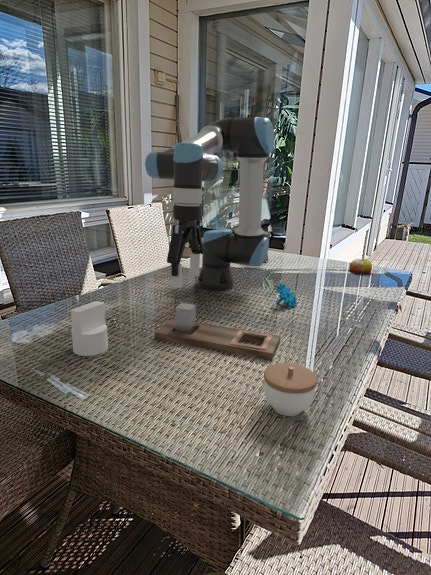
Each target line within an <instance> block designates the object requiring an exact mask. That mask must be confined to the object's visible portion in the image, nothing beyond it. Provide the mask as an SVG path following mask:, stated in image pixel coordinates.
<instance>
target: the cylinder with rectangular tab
mask: <svg viewBox="0 0 431 575" xmlns="http://www.w3.org/2000/svg"><path fill="white" fill-rule="evenodd" d="M105 306H106V304H105V302H103V301H100V300H96V301H92V302H89V303H87V304H83V305H81V306H78V307H75V308H72V309H70V313H71V314H70V316H71V340H72V352H73V353H74V354H76V355H78V356H82V357H83V356H84V357H93V356H97V355H100V354H103V353H105V352H106V351H107V350H108V349H109V343H108V342H109V339H108V325H107V324H106V307H105Z"/></svg>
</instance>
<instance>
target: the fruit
mask: <svg viewBox="0 0 431 575" xmlns="http://www.w3.org/2000/svg"><path fill="white" fill-rule="evenodd" d="M348 269H349V271H350V272H352V273H354V274H358V275H370V274H371V272H372V270H373V265H372V262H371V261H370V260H369V259H367V258H355V259H353V260H352V261H350V263H349V267H348Z"/></svg>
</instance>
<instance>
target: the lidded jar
mask: <svg viewBox="0 0 431 575" xmlns="http://www.w3.org/2000/svg"><path fill="white" fill-rule="evenodd" d="M317 383H318V378H317V376H316V374H315V372H313V371H312V370H311V369H309V368H307V367H306V366H304V365H300V364H297V363H293V362H291V363H290V362H280V363H279V362H277V363H273V364H270V365H269V366H268V367H266V368H265V369H264V372H263V390H264V395H265V399H266V401H267V402H268V404H269V405H270V406H271V408H273V411H275V412H276V413H277V414H279V415H281V416H286V417H295V416H298V415H300V414H301V413H303V412H304V411H305V410H306V409H307V408H309V406H310V405H311V403H312V401H313V399H314V397H315V392H316V387H317Z"/></svg>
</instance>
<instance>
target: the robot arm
mask: <svg viewBox="0 0 431 575" xmlns="http://www.w3.org/2000/svg"><path fill="white" fill-rule="evenodd" d="M275 140H276V138H275V129H274V126H273V123H272V122H271V120H270V119H269V118H268V117H262V116H261V117H260V116H255V117H252V116H251V117H245V116H244V117H226V118H222V119H219V120H216V121H214V122H211V123H209V124H207V125H206V126H203V127H202V128H201V129H200V130H199V132H198V133H196V134H195V135H193V136H191V137H189V138H187V139H185V140H183V141H182V142H177V143H176V144H175V145H174V146H172V147H170V148H169V149H166V150H164V151H153V152H149V153H148V154H147V155H146V157H145V161H144V167H145V171H146V174H147V176H149V177H150V178H152V179H159V180H173V190H172V193H171V194H172V195H173V203H174V205H173V206H172V207H173V208H172V209H173V210H172V217H173V219H174V220H177V221H178V224H173V225H172V229H171V230H172V231H171V232H172V233H171V238H170V243H169V248H168V253H167V257H166V263H167V264H170V287H171V288H176V289H181V288H182V272H183V271H182V263H181V261H182V258H183V256H184V255H183V254H184V251H185V248H186V244H187V243H188V245H189V247H190V251H191V253H190V254H189V258H190V260H189V276H193V277H198V278H197V286H198V287H199V288H202V289H203V290H209V291H210V290H211V291H225V290H230V289H232V288H233V287H234V282H235V280H234V276H233V274H232V270H231V264H235V265H243V266H244V265H245V266H249V267H261V266H262V265H263V264H264V263H263V262H264V260H265V258H266V256H267V253H268V252H269V247H270V246H269V241H270V238H269V239H268V238H267V237H264V231H265V230H264V228H263V229H262V228H261V227H262V206H263V185H264V168H265V166H264V164H265V162H266V161H267V160H268V159H269V154H270V153H272V152H273V151H274V148H275ZM218 152H229V153H235V157H236V159H237V160H238V161H239V190H238V191H239V196H238V199H239V200H238V227H237V228H236V229H235V230H234V233H233V231H232V229H229V228H221V229H211V230H206V231H205V232H204V233H203V235H202V232H201V219H202V206H201V204H202V202H203V200H202V198H203V189H202V188H203V182H212V181H216V180H217V179H219V178H220V177H221V175H222V173H223V168H224V167H223V162H222V160H221V158H220V157H219V156H218V155H217V154H216V153H218ZM215 154H216V155H215ZM268 254H269V253H268ZM201 255H202V258H201V260H202V262H201V260H200V256H201ZM200 262H201V263H202V264H201V267H200ZM200 268H201V269H200Z"/></svg>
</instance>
